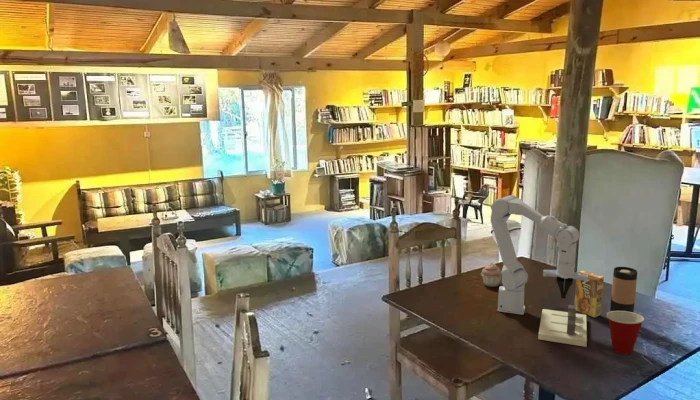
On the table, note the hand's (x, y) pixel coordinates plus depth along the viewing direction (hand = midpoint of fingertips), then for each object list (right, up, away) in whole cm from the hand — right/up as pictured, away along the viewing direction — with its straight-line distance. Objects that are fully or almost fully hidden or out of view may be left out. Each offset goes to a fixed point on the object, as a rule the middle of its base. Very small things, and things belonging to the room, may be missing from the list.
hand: (563, 297), depth 189 cm
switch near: (-1, -10, -9) cm, 14 cm away
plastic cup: (+12, -14, -17) cm, 25 cm away
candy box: (+14, -8, +11) cm, 19 cm away
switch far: (+4, -7, +3) cm, 9 cm away
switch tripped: (+1, -9, -3) cm, 9 cm away
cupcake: (-15, -2, +41) cm, 44 cm away
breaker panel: (-1, -11, -2) cm, 11 cm away
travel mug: (+22, -10, +3) cm, 24 cm away
